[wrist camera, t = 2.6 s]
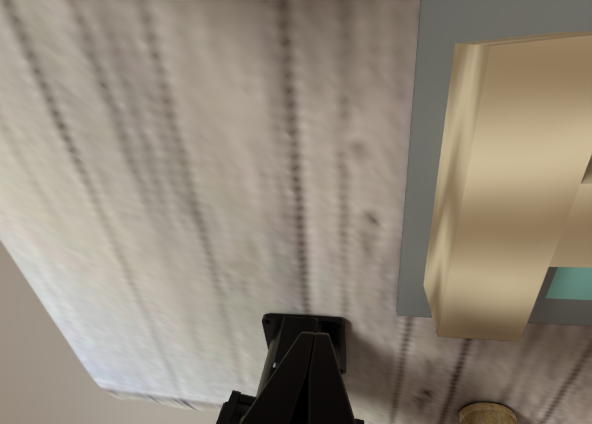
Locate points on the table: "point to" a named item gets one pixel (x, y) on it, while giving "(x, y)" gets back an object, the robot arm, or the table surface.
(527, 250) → the t block
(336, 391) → the robot arm
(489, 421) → the sprinkles bottle
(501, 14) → the push mat
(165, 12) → the table surface
